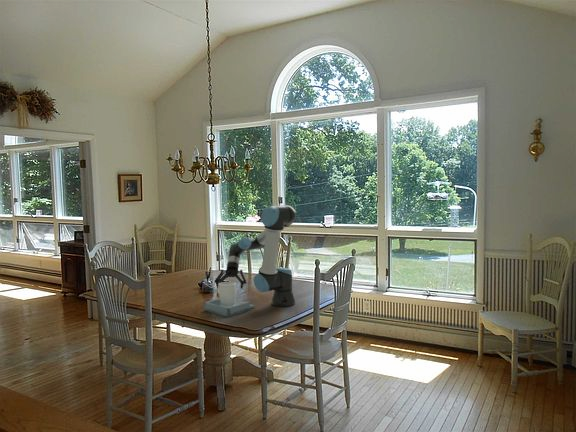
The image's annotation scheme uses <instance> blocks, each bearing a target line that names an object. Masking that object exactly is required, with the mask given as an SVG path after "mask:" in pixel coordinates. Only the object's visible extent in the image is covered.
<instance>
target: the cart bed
mask: <svg viewBox="0 0 576 432" xmlns="http://www.w3.org/2000/svg"><path fill="white" fill-rule="evenodd" d="M234 305H235V306H232V307H224V306H222V304H221V302H220V297H219V298H216V299H212V300H208V301H206V302H203V310H204V311H205V312H207V313H208V312H209V313H212V314H216V315H220V316H223V317H228V318H229V317H233V316H236V315H238V314H241V313H245V312H248V311H251V309H252V308H255V304H251V301H241V300H240V301H237V300H236V301H235V304H234Z"/></svg>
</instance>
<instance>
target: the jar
mask: <svg viewBox="0 0 576 432" xmlns="http://www.w3.org/2000/svg"><path fill="white" fill-rule="evenodd" d="M236 285H237V282H235V281H223V282H221V283H219V286H220V289H219V294H218V296H219V298H220V302H221V304H222V306H224V307H232V306H235V305H234V304H235V301H237V294H238V293H237V287H236Z"/></svg>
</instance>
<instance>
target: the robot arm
mask: <svg viewBox="0 0 576 432" xmlns="http://www.w3.org/2000/svg"><path fill="white" fill-rule="evenodd" d="M260 219H261V221H262V224H263V225H264V227H263V228H264V230H262V232H260V233H259V234H258V235H257V236H256V237H253V238H252V237H251V238H249V237H247V236H244V237H242V238H240V239H239V240H238V241H237V242H233V243H231V244H230V247H229V253H228V259H227V264H226V270H224V269H221V271H220V273H219V274H218V275H217V277H216V278H215V280H214V284H216V289H217V291H216V292H217V294H218V295H219V289H220V286H219V283H222V282H225V280H226V279H227V278H236V279H237V280H238V282H239V286H238V294H239V295H240V294H241V293H242V290H243V289H244V285H246V284H247V280H246V278H245V275H244V274H243V271H244V270H243V269H240V270H239V267H240V266H239V265H240V261H241V259H240V258H241V255H243V253H245V252H247V251H253V250H261V249H263V255H262V261H261V262H262V263H261V266H260V267H259V268H258V273H256V274H255V275H254V277H253V283H254V284H253V285H254V286H255V288H256V290H257V291H258V292H260V293H268V292H271V291H273V295H272V298H271V305H272V306H276V307H290V306H294V305H295V304H296V298H295V296H294V293H293V274H292V273H293V271H292V269H291V268H289V267H281V266H279V267H277V260H278V253H279V247H280V238H281V232H282V231H284V229H286V228H288V227H290V226H291V225H292V224H293V223H294V222H295V221H296V219H297V213H296V210H295V209H294V208H293V207H292V206H290V205H270V206H267V207H265V208H264V209H263V211H262V212H261V218H260ZM239 275H240V276H241V277H240V276H239Z"/></svg>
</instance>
